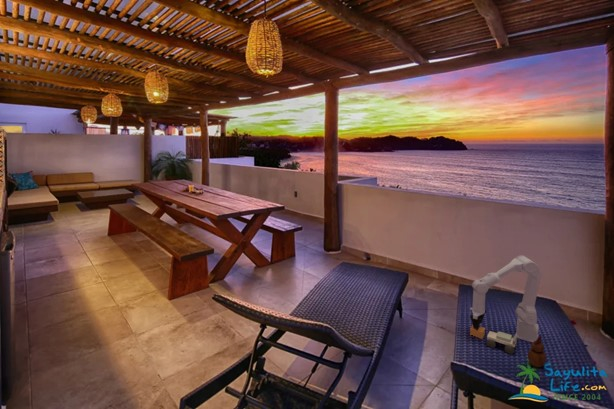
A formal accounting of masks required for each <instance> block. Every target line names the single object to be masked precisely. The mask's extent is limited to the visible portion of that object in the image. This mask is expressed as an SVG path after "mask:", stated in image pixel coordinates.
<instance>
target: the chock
mask: <svg viewBox="0 0 614 409" xmlns="http://www.w3.org/2000/svg"><path fill="white" fill-rule="evenodd" d="M485 331H486V327H483V326H480V325H479V328H478V330H477V329H474V328H473V324H472V325H471V327H470V332H469V333H470V334H469V335H470V336H471V335H473V336H472V337H474V336H476V337H475V338H477V337H478V339H481V340H482V339H484V337H485V333H486V332H485Z"/></svg>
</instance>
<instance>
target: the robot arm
mask: <svg viewBox="0 0 614 409" xmlns="http://www.w3.org/2000/svg"><path fill="white" fill-rule="evenodd" d="M514 272H518V273H524V272H525V273H526V274H527V277H526V282H525V286H524V292H523V295H522V296H523V297H522V300H521V302H519V303H518V305H517V307H516V308H515V314H516V315H517V323H516V332H515V334H514V335H516V336H517V339H520V340H523V341H526V342H530V343H532V342H534V341H536V340H537V339H538V336H539V337H540V335H539V326H540V325H539V324H538V323H537V322H538V317H537V314H538V313H537V310H536V306H535V305H536V300H537V296H538V291H539V286H540V281H541V278H542V272H541V271H540V266H539V264H537V263H536V262H535V261H532V260H531V259H530V258H528V257H527V256H525V255H523V254H522V255H517V256H516V257H515V258H513V259H512V260H511V261H510V262H508V264H506V265H505V266H504V267H502V268H501V269H499V270H497V271H496V272H488V273H487V274H486V275H485V276H483V277H482V278H479V279H475V280H473V282H472V284H471V287H472V288H473V294H472V307H470V308H469V310H470V311H472V314H470V315H469V319H470V320H471V323H472V325H473V328H474V329H477V330H478V328H479V326H480V325H481V324H482V323H483V319H484V316H485V314H486V313H487V310H485V307H486V293H488V290H489V289H490V288H492V287H494V286H495V285H497V284H498V283H500V281H501V279H502V278H504V277H506V276H508V275H510V274H512V273H514Z"/></svg>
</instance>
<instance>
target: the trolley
mask: <svg viewBox="0 0 614 409" xmlns="http://www.w3.org/2000/svg"><path fill="white" fill-rule="evenodd" d="M486 339H487V341H486V344H485V345H486V346H487V347H489V348H490V349H495V347H497V346H496V345H497V344H496V342H497V343H500V344H503V345H505V346H504V352H505V353H506V354H508V355H513V354H514V353H515V347H517V340H518V338H517V336H516V335H515V334H514V335H513V334H510V333H506V332H503V331H497V332H494V331H491V330H489V332H488V334H487V335H486Z"/></svg>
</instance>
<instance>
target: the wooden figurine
mask: <svg viewBox="0 0 614 409" xmlns="http://www.w3.org/2000/svg"><path fill="white" fill-rule="evenodd" d="M530 345H531V346H530V347H531V348H530V349H529V350H528V351H527V360H528V362H529V364H530V365H531V366H532V367H535V368H542V367H543V366H545V364H546V360H547V355H546V353H545V346H544V344H543V343H542V334H540V335H539V336H538V339H537V340H536V341H534V342H531V344H530Z"/></svg>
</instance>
